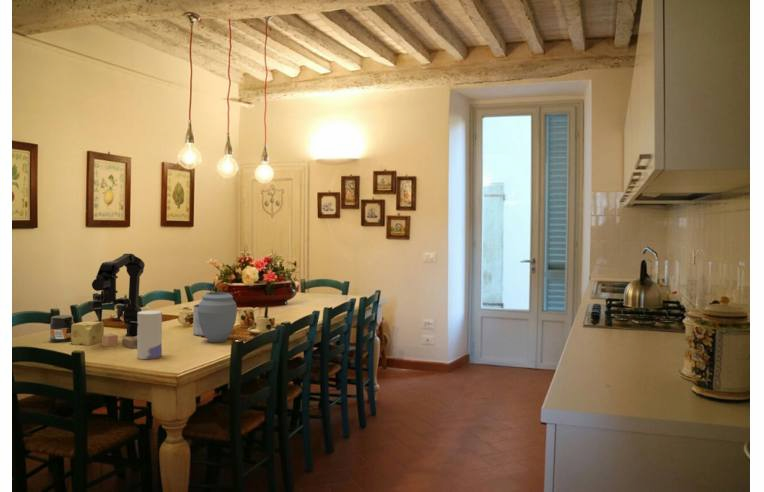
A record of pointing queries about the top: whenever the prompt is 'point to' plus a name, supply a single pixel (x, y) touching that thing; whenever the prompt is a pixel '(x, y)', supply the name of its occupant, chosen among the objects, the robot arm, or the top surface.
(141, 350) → the container
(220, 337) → the vase
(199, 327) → the planter
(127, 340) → the mauve short cylinder
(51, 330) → the supplement container
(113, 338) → the pink cube
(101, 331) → the cheese
